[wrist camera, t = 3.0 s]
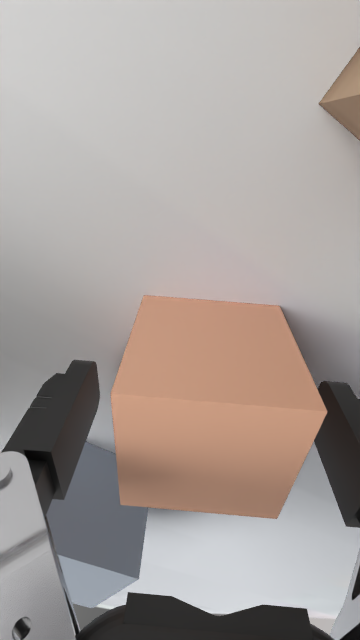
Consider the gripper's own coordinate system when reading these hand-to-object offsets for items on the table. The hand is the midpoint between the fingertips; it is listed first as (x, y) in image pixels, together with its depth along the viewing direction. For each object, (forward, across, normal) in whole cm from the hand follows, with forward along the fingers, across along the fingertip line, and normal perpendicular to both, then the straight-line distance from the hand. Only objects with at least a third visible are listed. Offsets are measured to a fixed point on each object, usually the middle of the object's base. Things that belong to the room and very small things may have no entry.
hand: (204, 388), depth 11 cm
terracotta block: (+2, 0, 0) cm, 2 cm away
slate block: (+2, +5, +9) cm, 11 cm away
